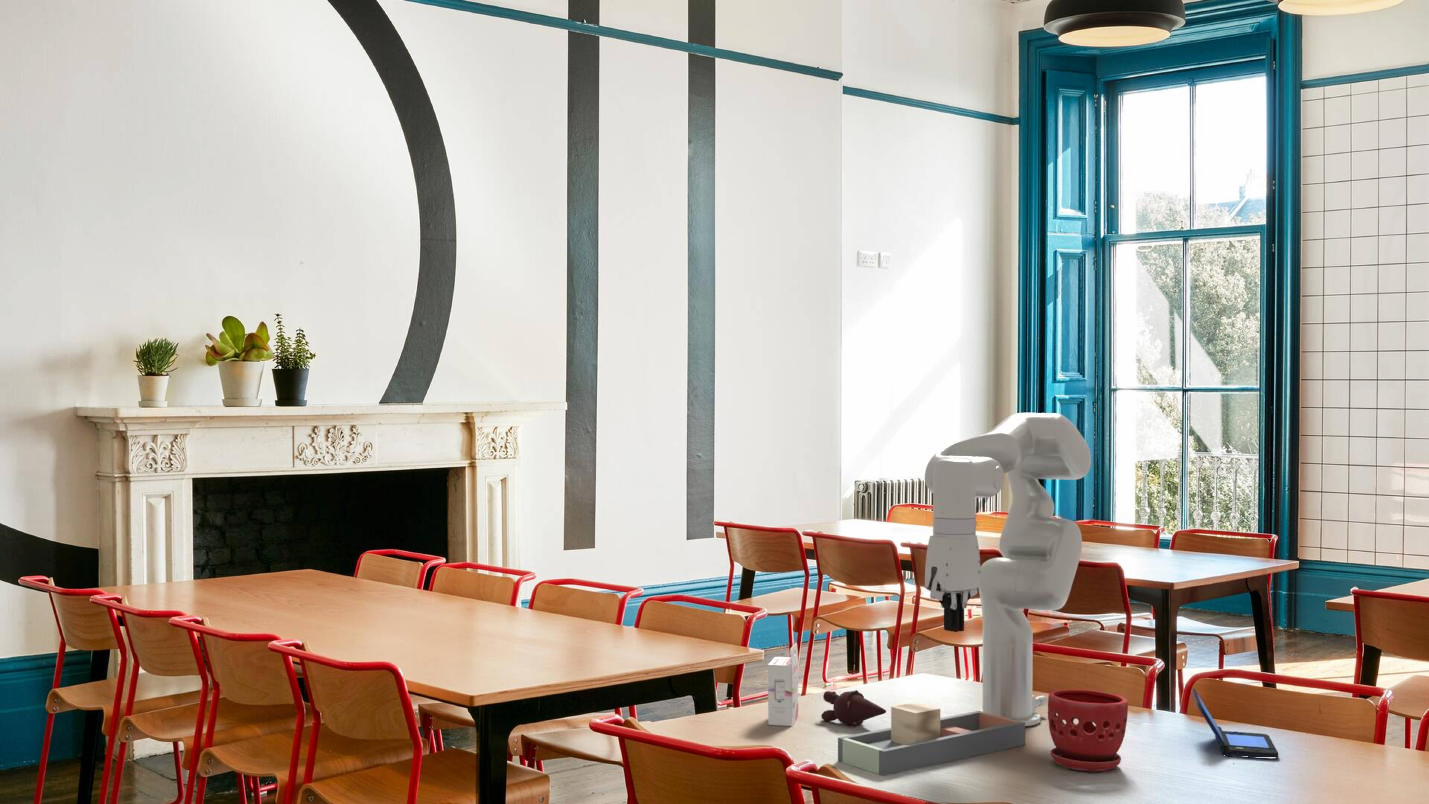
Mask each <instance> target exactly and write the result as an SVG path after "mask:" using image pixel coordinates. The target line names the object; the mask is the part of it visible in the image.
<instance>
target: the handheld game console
mask: <svg viewBox="0 0 1429 804" xmlns="http://www.w3.org/2000/svg"><path fill="white" fill-rule="evenodd" d="M1192 694H1193V697H1194V701H1195V702H1196V705H1197V707H1198V710H1199V712H1200V713H1201V715H1202V717H1203V718H1204V719H1205V721H1206V723H1207V725H1208V726H1209V727H1210V729H1211V731H1212V732H1213V734H1214V737H1215V739H1216V740H1217V743H1218V744H1219V746H1220V747H1219V748H1220V750H1221V755H1222V756H1223V755H1225V756H1224V757H1232V756H1248V757H1278V758H1279V751H1278V750H1277V748H1276V747H1275V745H1274V742H1273V741H1272V739H1271V737H1270V735H1269V734H1267V733H1259V732H1257V733H1256V732H1245V731H1242V732H1241V731H1236V730H1235V731H1233V730H1232V731H1229V730H1223V729H1222V727H1221V726H1218V725H1217V723H1216V721H1215V719H1214V718H1213V716H1212V714H1211V713H1210V711H1209V710H1208V708H1207V706H1206V705H1205V703H1204V701H1203V700H1202V698H1201V697H1200V695H1199V694H1198V692H1197V691H1196V689H1195V688H1192Z"/></svg>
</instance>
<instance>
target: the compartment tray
mask: <svg viewBox="0 0 1429 804" xmlns="http://www.w3.org/2000/svg"><path fill="white" fill-rule="evenodd" d="M1022 746H1026V726H1025V722H1021V721H1017V720H1012V719H1008V718H1004V717H1000V716H996V715H992V714H988V713H984V712H980V711H977V710H975V711H971V712H966V713H960V714H955V715H950V716H945V717H940V738H936V739H931V740H926V741H921V742H916V743H911V744H906V745H903V744H899V743H896V742H892V741H891V727H887V728H882V729H877V730H872V731H866V732H861V733H860V732H859V733H856V734H850V735H845V736H839V737H837V761H838V762H839V763H842V764H846V765H849V766H851V767H854V768H855V767H856V768H859V769H861V770H865V771H868V772H871V773H874V774H877V775H881V776H884V777H885V776H890V775H893V774H899V773H903V772H909V771H911V770H916V769H922V768H925V767H929V766H930V767H931V766H934V765H939V764H944V763H949V762H953V761H957V760H962V759H967V758H970V757H972V758H973V757H976V756H981V755H984V754H989V753H993V752H998V751H1003V750H1007V749H1011V748H1017V747H1022Z"/></svg>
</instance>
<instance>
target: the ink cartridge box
mask: <svg viewBox="0 0 1429 804" xmlns="http://www.w3.org/2000/svg"><path fill="white" fill-rule="evenodd" d="M789 655H790V657H789V656H786V657H785V656H774V657H773V658H772V660H770V661H769V663H767V694H768V695H767V698H768V699H767V705H768V706H767V708H768V709H767V712H768V721H767V722H768V726H782V727H783V726H784V727H792V726H793V725H794V724H795V722H796V720H797V719H798V717H799V651H798V643H797V642H794V644H793V645H792V646H791V648H790V650H789Z"/></svg>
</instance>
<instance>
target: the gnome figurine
mask: <svg viewBox="0 0 1429 804" xmlns="http://www.w3.org/2000/svg"><path fill="white" fill-rule="evenodd" d="M822 696H823V697H822V698H823V701H825V702H826V703H828V704H831V705H833V707H832V708H833V709H827V710H825V711H823V713H821V715H820V717H821V719H822V721H826V722H833V721H836V720H838V721H839V722H840V723H841V724H843V725H848V726H849V727H853V728H856V727H859V726H861V725H863V723H864V721H867V720H869V719H871V718H875V717H878V716H882V715H884V714H886V713H887V709H884V708H883V707H881V706H880V705H878V704H876V703H874V702H872V701H870V700H869V699H867V698H865V697H864V695H863V693H861V692H860V691H858V689H855V690H851V691H844V692H842V693H841V694H840V695H839V694H837V692H836V691H831V690H826V691H824V692H823V695H822Z"/></svg>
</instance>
